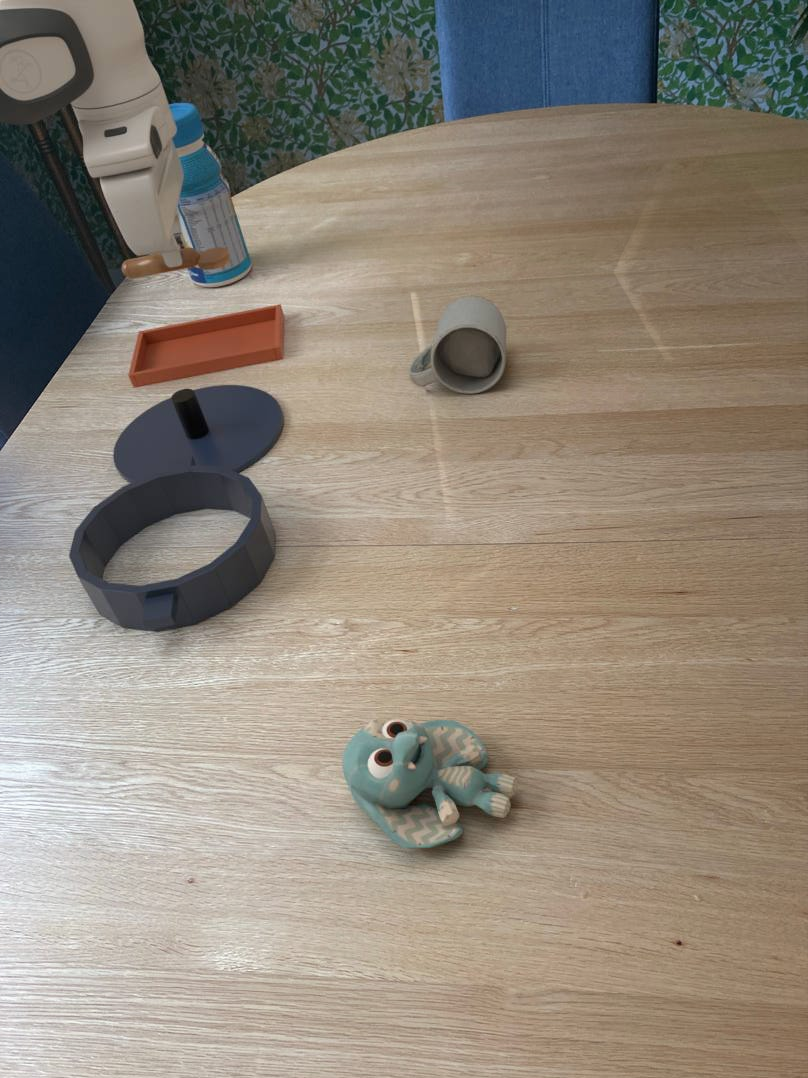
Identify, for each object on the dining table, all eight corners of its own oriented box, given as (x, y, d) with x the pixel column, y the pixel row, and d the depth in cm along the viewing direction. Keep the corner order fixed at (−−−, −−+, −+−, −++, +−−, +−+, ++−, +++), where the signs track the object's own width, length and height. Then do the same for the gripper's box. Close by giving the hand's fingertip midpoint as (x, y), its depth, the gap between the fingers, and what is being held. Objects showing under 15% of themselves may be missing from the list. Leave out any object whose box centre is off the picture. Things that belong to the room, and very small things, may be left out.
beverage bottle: (235, 290, 129) (180, 125, 115) (179, 289, 132) (118, 127, 117) (265, 259, 134) (216, 97, 120) (210, 258, 137) (156, 99, 123)
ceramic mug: (510, 348, 110) (500, 282, 104) (510, 390, 104) (500, 322, 99) (415, 361, 111) (400, 296, 106) (409, 403, 105) (393, 336, 100)
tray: (135, 391, 115) (128, 375, 113) (145, 346, 122) (138, 331, 120) (284, 363, 114) (279, 346, 113) (285, 320, 122) (280, 303, 120)
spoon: (124, 287, 109) (116, 269, 108) (127, 271, 112) (120, 254, 111) (229, 266, 109) (223, 248, 108) (231, 251, 112) (225, 233, 110)
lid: (106, 510, 99) (82, 463, 95) (128, 411, 112) (107, 366, 108) (284, 476, 99) (267, 427, 95) (286, 381, 112) (271, 334, 108)
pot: (75, 673, 84) (49, 631, 80) (111, 509, 99) (90, 468, 96) (274, 636, 84) (257, 592, 80) (279, 477, 99) (264, 435, 96)
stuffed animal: (494, 834, 61) (308, 781, 63) (488, 890, 66) (317, 840, 68) (538, 699, 68) (369, 655, 70) (530, 760, 73) (373, 717, 75)
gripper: (110, 94, 107) (158, 223, 117) (80, 167, 93) (138, 306, 103) (168, 83, 107) (211, 212, 117) (148, 154, 93) (199, 294, 103)
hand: (177, 257), depth 110 cm, fingers closed on spoon, 2 cm apart
